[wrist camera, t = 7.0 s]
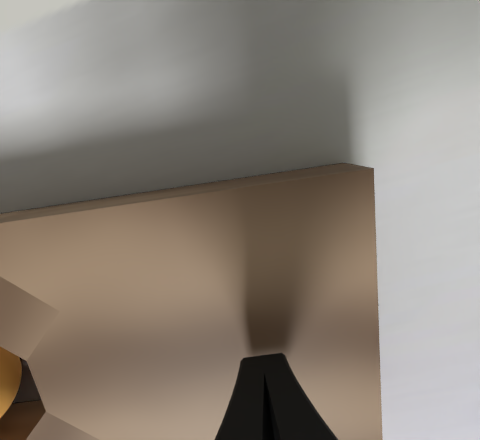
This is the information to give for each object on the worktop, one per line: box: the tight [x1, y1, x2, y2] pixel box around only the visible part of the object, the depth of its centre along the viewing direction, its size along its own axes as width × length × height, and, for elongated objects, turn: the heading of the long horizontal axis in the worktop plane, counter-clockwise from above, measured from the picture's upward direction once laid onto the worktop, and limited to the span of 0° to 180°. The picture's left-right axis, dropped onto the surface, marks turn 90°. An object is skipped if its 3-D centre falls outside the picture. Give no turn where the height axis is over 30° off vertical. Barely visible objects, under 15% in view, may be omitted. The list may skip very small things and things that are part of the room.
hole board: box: [0, 163, 382, 440], centre depth 12 cm, size 12×20×2 cm, turn 98°
